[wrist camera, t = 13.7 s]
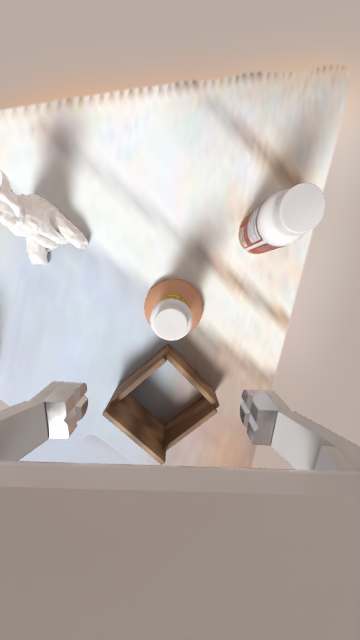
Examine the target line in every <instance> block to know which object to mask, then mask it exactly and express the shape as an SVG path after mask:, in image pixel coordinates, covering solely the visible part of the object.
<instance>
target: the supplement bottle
mask: <svg viewBox="0 0 360 640" xmlns="http://www.w3.org/2000/svg"><path fill="white" fill-rule="evenodd" d="M150 323H151V327H152V329H153V331H154V332H155V333H156V334H157V335H158V336H159V337H161V338H163V339H165V340H169V341H173V340H178V339H181V338H182V337H184V336H185V335H186V334H187V333H188V332H189V331H190V329H191V327H192V323H193V317H192V313H191V310H190V307H189V305H188V303H187V301H186V300H185V299H184V298H183V297H181V296H179V295H176V294H170V295H167V296H165V297H163V298H162V299H161V300H160V301H159V302H158V303H157V304H156V306H155V307H154V308H153V310H152V312H151V316H150Z"/></svg>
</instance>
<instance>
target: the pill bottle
mask: <svg viewBox="0 0 360 640" xmlns="http://www.w3.org/2000/svg"><path fill="white" fill-rule="evenodd" d="M324 211H325V198H324V195H323V193H322V191H321V190H320V188H319V187H317V186H316V185H314V184H311V183H300V184H297V185H295V186H293V187H292V188H290V189H283V190H280V191H278V192H276V193H274V194H273V195H271V196H270V197H269V198H268V199H266V200H265V201H264V202H263V203H262V204H261V205H260V206H259V207H258V208H257V209H255V210H254V211H253V212H252V213H251V214H250V215H249V216H248V217H247V218H246V219H245V220H244V221H243V222H242V224H241V226H240V229H239V235H238V236H239V242H240V245H241V246H242V248H243V249H244V250H245V251H247V252H249V253H252V254H261V253H264V252H268V251H271V250H274V249H277V248H280V247H284V246H287V245H289V244H292V243H294V242H295V241H297V240H298V239H300V238H301V237H302V236H303V235H304V234H305V232H308V231H310V230H311V229H313V228H314V227H315V226H316V225H317V224H318V223H319V222H320V220H321V219H322V216H323V214H324Z"/></svg>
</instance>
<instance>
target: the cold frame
mask: <svg viewBox="0 0 360 640" xmlns="http://www.w3.org/2000/svg"><path fill="white" fill-rule="evenodd" d="M167 360H168V361H169V362H170V363H171V364H172V365H173V366H174V367H175V368H176V369H177V370H178V371H179V372H180V373H181V374H182V375H183V376H184V377H185V378H186V379H187V380H188V381H189V382H190V383H191V384H192V385H193V386H194V387H195V388H196V389H197V390H198V391H199V392H200V393H201V394H202V395H203V397H202V398H200V399H199V400H198V401H196V402H195V403H194V404H193V405H191V406H190V407H189V408H187V409H186V410H185V411H183V412H182V413H181V414H180V415H178V416H177V417H176V418H174V419H173V420H172V421H171V422H169V423H168V424H167V425H165V426H164V425H163V424H162V423H161V422H160V421H158V420H157V419H156V418H155V417H154V416H153V415H152V414H151V413H150V412H148V411H147V410H146V409H145V408H144V407H143V406H142V405H141V404H140V403H139V402H137V401H136V400H135V399H134V398H133V397H132V396H131V395H130V394H129V393H130V392H131V391H132V390H133V389H135V388H136V387H137V386H138V385H139V384H140V383H142V382H143V381H144V380H145V379H146V378H148V377H149V376H150V375H151V374H152V373H154V372H155V371H156V370H157V369H158V368H159V367H161V366H162V365H163V364H164V363H165V362H166V361H167ZM217 407H219V403H218V400H217V397H216V394H215V391H214V390H213V389H212V388H211V387H210V386H209V385H208V384H207V383H206V382H205V381H204V380H203V379H202V378H201V377H200V376H199V375H198V374H197V373H196V372H195V371H194V370H193V369H192V368H191V367H190V366H189V365H188V364H187V362H186V361H185V360H184V359H183V358H182V357H181V356H180V355H179V354H178V353H177V352H176V351H175V350H174V349H173V348H172V347H171V346H170V345H169V344H167V345H166V346H165V347H164V348H163V349H161V350H160V351H159V352H158V353H157V354H156V355H154V356H153V357H152V358H151V359H150V360H149V361H147V362H146V363H145V364H144V365H143V366H142V367H140V368H139V369H138V370H137V371H136V372H135V373H134V374H132V375H131V376H130V377H129V378H128V379H127V380H125V381H124V382H123V383H122V384H121V385H120V386H118V387H117V388H116V390H115V392H114V394H113V396H112V398H111V399H110V401H109V403H108V405H107V407H106V408H105V410H104V412H103V414H102V415H103V416H104V417H106V418H107V419H108V420H109V421H110V422H111V423H113V424H114V425H115V426H116V427H117V428H119V429H120V430H121V431H122V432H123V433H125V434H126V435H127V436H128V437H129V438H130V439H132V440H133V441H134V442H135V443H136V444H138V445H139V446H140V447H141V448H142V449H144V450H145V451H146V452H147V453H148V454H149V455H151V456H152V457H153V458H154V459H155V460H157V461H158V462H159V463H160V464H161V465H162V464H163V463H165V456H166V451H167V450H168V449H169V448H171V447H172V446H173V445H175V444H176V443H177V442H179V441H180V440H181V439H183V438H184V437H185V436H187V435H188V434H189V433H191V432H192V431H193V430H195V429H196V428H197V427H199V426H200V425H201V424H203V423H204V422H205V421H207V420H208V419H209V418H211V417H212V416H213V415H215V414H216V413H217V410H216V408H217Z"/></svg>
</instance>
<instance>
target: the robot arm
mask: <svg viewBox="0 0 360 640" xmlns="http://www.w3.org/2000/svg"><path fill="white" fill-rule="evenodd" d="M86 391H87V385H86V384H85V383H78V382H62V381H55V382H52V383H51V384H49V385H48V386H47V387H46V388H45V389H43V390H42V391H41V392H40V393H38V394H37V395H36V396H35V397H33V398H32V399H31V400H30V401H24V402H22V403H19V404H17V405H14V406H12V407H9V408H7V409H4V410H2V411H0V640H360V447H359V446H357V445H356V444H354V443H352V442H350V441H348V440H346V439H345V438H343V437H341V436H339V435H337V434H335V433H333V432H332V431H330V430H328V429H326V428H324V427H323V426H321V425H319V424H317V423H315V422H313V421H312V420H309V419H308V418H306V417H304V416H302V415H300V414H299V413H297V412H292V411H291V410H290V408H289V407H288V406H287V405H286V404H285V403H284V402H283V400H282V399H281V398H280V397H279V396H278V395H277V394H276V393H275V391H273V390H243V392H242V398H243V400H244V401H243V402H242V404H241V405H240V417H241V420H242V423H243V425H244V426H246V427H247V434H248V436H249V438H250V440H251V442H252V444H255V445H271V447H272V448H273V449H274V450H275V451H276V452H277V453H278V454H280V455H281V456H282V457H283V458H284V459H285V460H286V461H287V462H288V463H289V464H290V465H291V466H292V467H293V468H294V469H295V470H294V469H261V468H258V469H257V468H227V467H194V466H163V465H132V464H131V465H130V464H98V463H63V462H30V461H29V462H28V461H19V460H20V459H21V458H23V457H24V456H26V455H27V454H28V453H30V452H31V451H33V450H34V449H35V448H37V447H38V446H40V445H41V444H42V443H44V442H45V441H47V440H48V439H49V438H69V437H70V435H71V434H72V432H73V431H74V429H75V428H76V427H77V421H79V420H81V419H82V418H83V416H84V415H85V413H86V410H87V406H88V398H87V397H86V396H85V395H84V394H85V393H86Z"/></svg>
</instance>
